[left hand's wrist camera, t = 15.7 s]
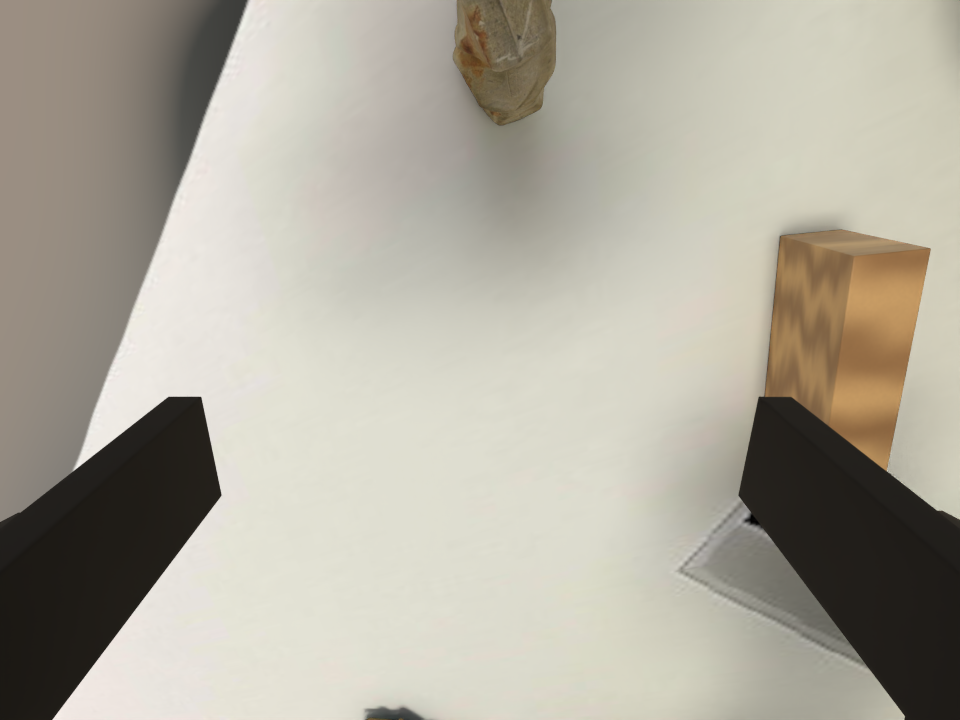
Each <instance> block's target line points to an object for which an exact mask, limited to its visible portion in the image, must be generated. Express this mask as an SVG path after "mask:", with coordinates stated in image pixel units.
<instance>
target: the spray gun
mask: <svg viewBox="0 0 960 720" xmlns="http://www.w3.org/2000/svg"><path fill="white" fill-rule="evenodd" d="M366 720H390V719H379V718H368V719H366ZM398 720H403V719H402V718H400V719H398Z"/></svg>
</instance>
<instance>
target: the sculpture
mask: <svg viewBox="0 0 960 720" xmlns="http://www.w3.org/2000/svg"><path fill="white" fill-rule="evenodd" d="M551 2H552V0H457V18H458V22H457V26H456V29H455V42H456V48H455V50H454V53H453V60H454V62H455V64H456V65H457V67H458V69H459V70H460V72H461V73H462V75H463V77H464V79H465V81H466V83H467V85H468V86H469V88H470V90H471V91H472V93H473V95H474V96H475V98H476V99H477V102H478V104H479V106H480V107H482V108H483V109H484V111H485V112H486V113H487V115H488V116H489V117H490V118H491V119H492V120H493V121H494V122H495V123H496V124H498V125H505V124H508V123H511V122H514V121H517V120H519V119H521V118H523V117H526V116H528V115H530V114H532V113H534V112H536V111H538V110H539V109H540V108H541V107H542V103H543V92H544V86H545V85H546V83H547V82H548V80H549V79H550V77H551V76H552V74H553V72H554V69H555V62H556V24H555V18H554V15H553V13H552V11H551V9H550V6H551Z"/></svg>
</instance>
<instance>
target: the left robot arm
mask: <svg viewBox="0 0 960 720" xmlns="http://www.w3.org/2000/svg"><path fill="white" fill-rule="evenodd" d="M220 497H221V490H220V485H219V481H218V476H217V471H216V466H215V461H214V456H213V452H212V447H211V442H210V437H209V432H208V427H207V423H206V418H205V413H204V408H203V403H202V398H201V397H168V398H166V399H165V400H164V401H163V402H161V403H160V404H159V405H158V406H156V407H155V408H154V409H152V410H151V411H150V412H149V413H147V414H146V415H145V416H143V417H142V418H141V419H140V420H138V421H137V422H136V423H135V424H133V425H132V426H131V427H129V428H128V429H127V430H126V431H124V432H123V433H122V434H121V435H119V436H118V437H117V438H115V439H114V440H113V441H112V442H110V443H109V444H108V445H106V446H105V447H104V448H103V449H101V450H100V451H99V452H98V453H96V454H95V455H94V456H92V457H91V458H90V459H89V460H87V461H86V462H85V463H83V464H82V465H81V466H80V467H78V468H77V469H76V470H75V471H73V472H72V473H71V474H69V475H68V476H67V477H66V478H64V479H63V480H62V481H60V482H59V483H58V484H57V485H55V486H54V487H53V488H52V489H50V490H49V491H48V492H46V493H45V494H44V495H43V496H41V497H40V498H39V499H37V500H36V501H35V502H34V503H32V504H31V505H30V506H29V507H27V508H26V509H25V510H23V511H22V512H21V513H17V514H15V515H13V516H11V517H9V518H7V519H5V520H3V521H2V522H0V720H52V719H53V718H54V717H55V715H56V714H57V713H58V711H59V710H60V709H61V707H62V706H63V705H64V703H65V702H66V701H67V699H68V698H69V697H70V696H71V694H72V693H73V692H74V690H75V689H76V688H77V686H78V685H79V684H80V682H81V681H82V680H83V678H84V677H85V676H86V674H87V673H88V672H89V670H90V669H91V668H92V666H93V665H94V664H95V662H96V661H97V660H98V658H99V657H100V656H101V654H102V653H103V652H104V650H105V649H106V648H107V646H108V645H109V644H110V643H111V641H112V640H113V639H114V637H115V636H116V635H117V633H118V632H119V631H120V629H121V628H122V627H123V625H124V624H125V623H126V621H127V620H128V619H129V617H130V616H131V615H132V613H133V612H134V611H135V609H136V608H137V607H138V605H139V604H140V603H141V601H142V600H143V599H144V597H145V596H146V595H147V594H148V592H149V591H150V590H151V588H152V587H153V586H154V584H155V583H156V582H157V580H158V579H159V578H160V576H161V575H162V574H163V572H164V571H165V570H166V568H167V567H168V566H169V564H170V563H171V562H172V560H173V559H174V558H175V556H176V555H177V554H178V552H179V551H180V550H181V548H182V547H183V546H184V545H185V543H186V542H187V541H188V539H189V538H190V537H191V535H192V534H193V533H194V531H195V530H196V529H197V527H198V526H199V525H200V523H201V522H202V521H203V519H204V518H205V517H206V515H207V514H208V513H209V511H210V510H211V509H212V507H213V506H214V505H215V503H216V502H217V501H218V499H219V498H220ZM739 497H740V498H741V499H742V501H743V502H744V503H745V505H746V506H747V507H748V509H749V510H750V511H751V513H752V514H753V515H754V517H755V518H756V519H757V521H758V522H759V523H760V525H761V526H762V527H763V529H764V530H765V531H766V533H767V534H768V535H769V537H770V538H771V539H772V541H773V542H774V543H775V545H776V546H777V547H778V548H779V550H780V551H781V552H782V554H783V555H784V556H785V558H786V559H787V560H788V562H789V563H790V564H791V566H792V567H793V568H794V570H795V571H796V572H797V574H798V575H799V576H800V578H801V579H802V580H803V582H804V583H805V584H806V586H807V587H808V588H809V590H810V591H811V592H812V594H813V595H814V596H815V597H816V599H817V600H818V601H819V603H820V604H821V605H822V607H823V608H824V609H825V611H826V612H827V613H828V615H829V616H830V617H831V619H832V620H833V621H834V623H835V624H836V625H837V627H838V628H839V629H840V631H841V632H842V633H843V635H844V636H845V637H846V639H847V640H848V641H849V643H850V644H851V645H852V647H853V648H854V649H855V650H856V652H857V653H858V654H859V656H860V657H861V658H862V660H863V661H864V662H865V664H866V665H867V666H868V668H869V669H870V670H871V672H872V673H873V674H874V676H875V677H876V678H877V680H878V681H879V682H880V684H881V685H882V686H883V688H884V689H885V690H886V692H887V693H888V694H889V696H890V697H891V698H892V699H893V701H894V702H895V703H896V705H897V706H898V707H899V709H900V710H901V711H902V713H903V714H904V715H905V717H906V718H907V719H908V720H960V520H959V519H957V518H955V517H953V516H951V515H949V514H948V513H946V512H944V511H937V510H935V509H934V508H933V507H931V506H930V505H929V504H928V503H926V502H925V501H924V500H923V499H921V498H920V497H919V496H917V495H916V494H915V493H914V492H912V491H911V490H910V489H908V488H907V487H906V486H905V485H903V484H902V483H901V482H900V481H898V480H897V479H896V478H894V477H893V476H892V475H891V474H889V473H888V472H887V471H885V470H884V469H883V468H882V467H880V466H879V465H878V464H877V463H875V462H874V461H873V460H871V459H870V458H869V457H868V456H866V455H865V454H864V453H862V452H861V451H860V450H859V449H857V448H856V447H855V446H854V445H852V444H851V443H850V442H848V441H847V440H846V439H845V438H843V437H842V436H841V435H839V434H838V433H837V432H836V431H834V430H833V429H832V428H831V427H829V426H828V425H827V424H825V423H824V422H823V421H822V420H820V419H819V418H818V417H817V416H815V415H814V414H813V413H811V412H810V411H809V410H808V409H806V408H805V407H804V406H802V405H801V404H800V403H799V402H797V401H796V400H795V399H794V398H792V397H759V398H758V403H757V408H756V413H755V418H754V423H753V427H752V432H751V437H750V442H749V447H748V452H747V456H746V461H745V466H744V471H743V476H742V481H741V485H740V490H739Z"/></svg>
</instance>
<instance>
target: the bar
mask: <svg viewBox="0 0 960 720" xmlns="http://www.w3.org/2000/svg"><path fill="white" fill-rule="evenodd" d="M930 250H931V249H930V248H926V247H921V246H917V245H912V244H907V243H902V242H898V241H893V240H888V239H884V238H879V237H874V236H870V235H865V234H860V233H855V232H851V231H846V230H832V231H822V232H813V233H803V234H793V235H784V236H781V237H780V247H779V257H778V267H777V278H776V288H775V298H774V308H773V319H772V329H771V339H770V349H769V360H768V370H767V380H766V390H765V397H792V398H794V399H795V400H796V401H797V402H799V403H800V404H801V405H802V406H804V407H805V408H806V409H808V410H809V411H810V412H811V413H813V414H814V415H815V416H817V417H818V418H819V419H820V420H822V421H823V422H824V423H825V424H827V425H828V426H829V427H831V428H832V429H833V430H834V431H836V432H837V433H838V434H839V435H841V436H842V437H843V438H845V439H846V440H847V441H848V442H850V443H851V444H852V445H854V446H855V447H856V448H857V449H859V450H860V451H861V452H862V453H864V454H865V455H866V456H868V457H869V458H870V459H871V460H873V461H874V462H875V463H877V464H878V465H879V466H880V467H882V468H883V469H884V470H885V471H887V466H888V461H889V456H890V451H891V446H892V441H893V436H894V431H895V426H896V421H897V416H898V411H899V406H900V401H901V396H902V391H903V386H904V381H905V376H906V371H907V366H908V361H909V355H910V350H911V345H912V340H913V335H914V330H915V325H916V320H917V315H918V310H919V305H920V300H921V295H922V290H923V285H924V280H925V275H926V270H927V265H928V260H929V255H930Z"/></svg>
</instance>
